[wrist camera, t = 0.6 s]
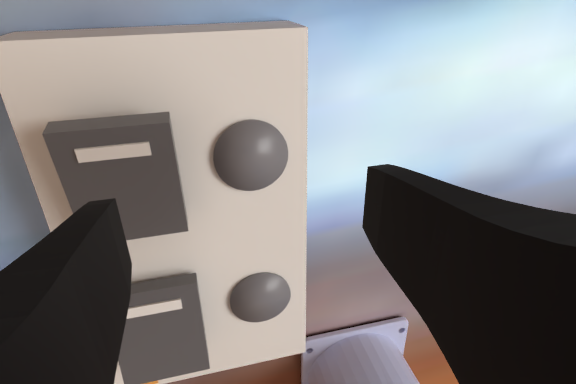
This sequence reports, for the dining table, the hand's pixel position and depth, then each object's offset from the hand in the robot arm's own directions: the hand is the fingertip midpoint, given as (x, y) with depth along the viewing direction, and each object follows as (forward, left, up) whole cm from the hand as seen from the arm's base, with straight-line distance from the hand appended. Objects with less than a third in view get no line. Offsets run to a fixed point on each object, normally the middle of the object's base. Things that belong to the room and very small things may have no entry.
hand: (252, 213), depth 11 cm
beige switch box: (-5, +2, -9) cm, 11 cm away
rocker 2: (-9, +4, -6) cm, 11 cm away
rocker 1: (-1, +4, -6) cm, 7 cm away
